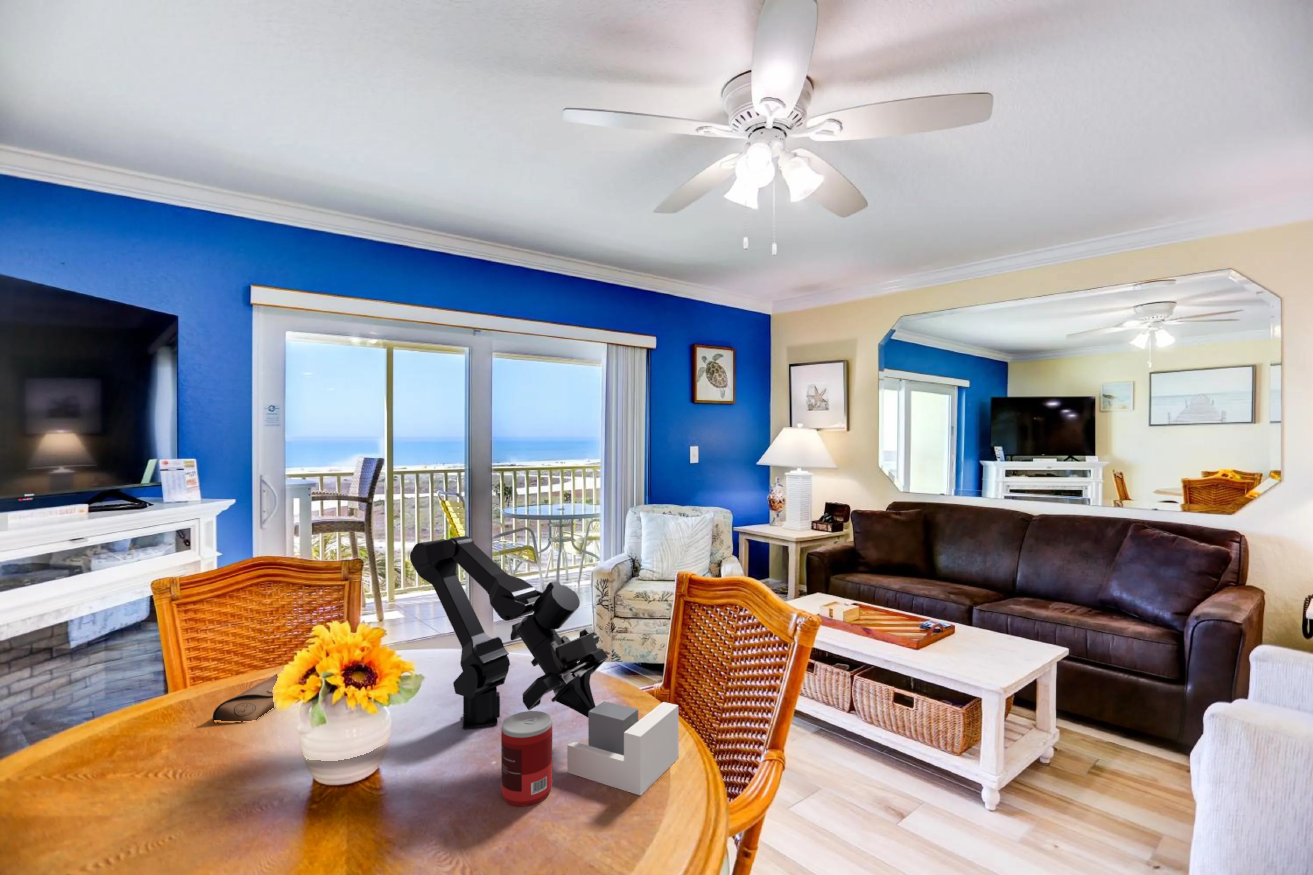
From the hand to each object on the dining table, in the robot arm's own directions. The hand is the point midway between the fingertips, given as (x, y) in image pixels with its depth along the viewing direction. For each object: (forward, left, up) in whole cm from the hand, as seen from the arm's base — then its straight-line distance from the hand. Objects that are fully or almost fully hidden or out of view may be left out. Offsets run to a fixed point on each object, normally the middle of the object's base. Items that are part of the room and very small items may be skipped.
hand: (595, 717), depth 106 cm
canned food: (-12, -8, -7) cm, 16 cm away
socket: (+4, -4, -7) cm, 9 cm away
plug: (+4, -4, -6) cm, 8 cm away
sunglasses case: (-63, +41, -7) cm, 75 cm away
